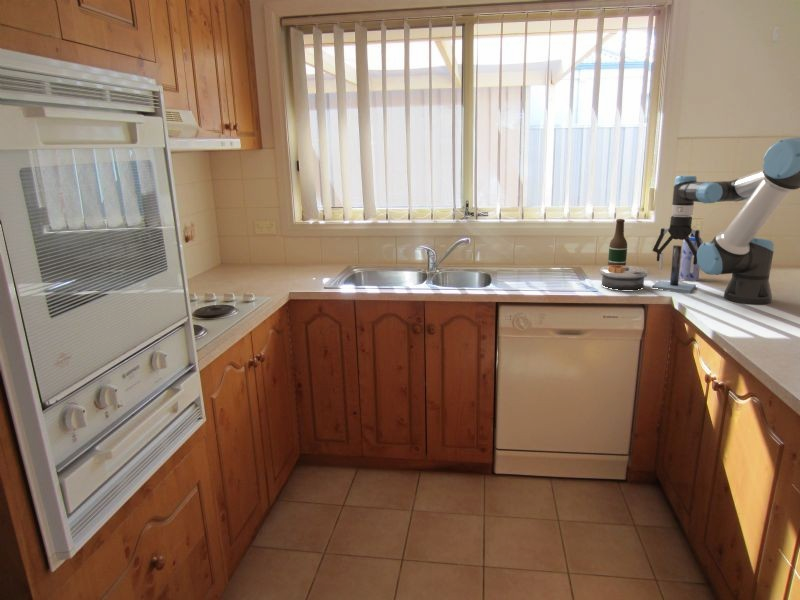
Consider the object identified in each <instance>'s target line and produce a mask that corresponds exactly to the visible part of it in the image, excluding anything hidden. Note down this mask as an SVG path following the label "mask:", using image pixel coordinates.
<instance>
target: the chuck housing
mask: <svg viewBox="0 0 800 600" xmlns="http://www.w3.org/2000/svg"><path fill="white" fill-rule="evenodd" d="M601 276H602V277H601V286H602V285H603V286H605V287H608V288H612V289H618V290H638V289H641V288H643V289H644V287H645V284H644V283H645V278H640V279H619V278H611V277H606V276H603V275H601Z"/></svg>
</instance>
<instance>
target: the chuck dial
mask: <svg viewBox="0 0 800 600" xmlns="http://www.w3.org/2000/svg"><path fill="white" fill-rule="evenodd" d="M648 273H649V272H648V269H647V268H644V267H640V266H634V265H626V266H625V265H610V266H608V265H605V266H602V267H600V269H599V274H600V275H601V276H602V275H603V276H606V277H611V278H619V279H640V278H644V279H645V278H647V277H648Z"/></svg>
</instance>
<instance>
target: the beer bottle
mask: <svg viewBox="0 0 800 600" xmlns="http://www.w3.org/2000/svg"><path fill="white" fill-rule="evenodd" d="M625 221H626V220H625V219H624V218H617V219H616V220H615V222H616V226H615V231H614V235H613V237H612V239H611V240H610V242H609V247H608V257H607V258H608V259H607V260H608V261H607V266H610V265H625V266H627V255H628V242H627V239H626V238H625V234H624V233H625Z"/></svg>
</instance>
